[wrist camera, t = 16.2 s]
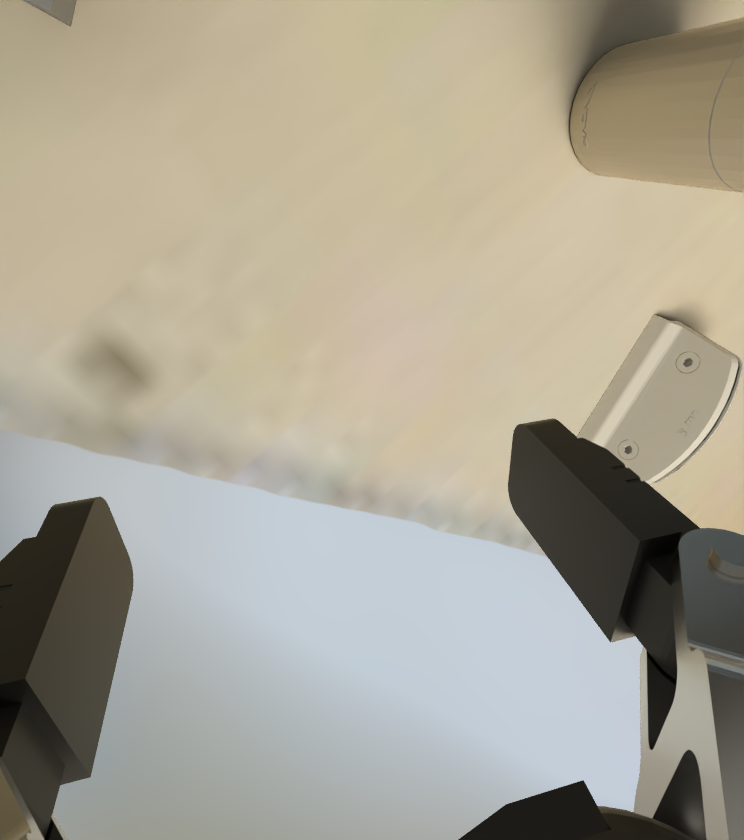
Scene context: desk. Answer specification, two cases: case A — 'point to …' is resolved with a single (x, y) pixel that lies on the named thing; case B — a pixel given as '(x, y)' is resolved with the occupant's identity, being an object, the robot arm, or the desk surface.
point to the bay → (56, 8)
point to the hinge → (665, 399)
